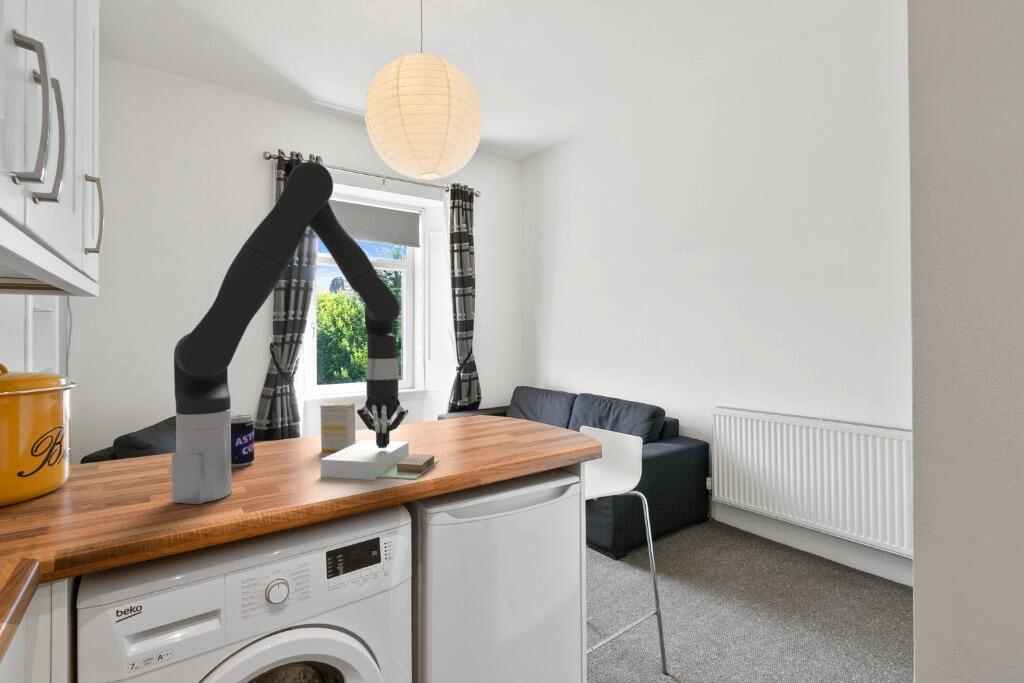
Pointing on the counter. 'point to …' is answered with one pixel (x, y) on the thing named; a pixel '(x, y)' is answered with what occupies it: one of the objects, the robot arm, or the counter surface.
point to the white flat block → (363, 460)
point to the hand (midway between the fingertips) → (382, 447)
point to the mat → (401, 473)
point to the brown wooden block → (415, 463)
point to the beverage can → (242, 440)
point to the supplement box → (337, 426)
